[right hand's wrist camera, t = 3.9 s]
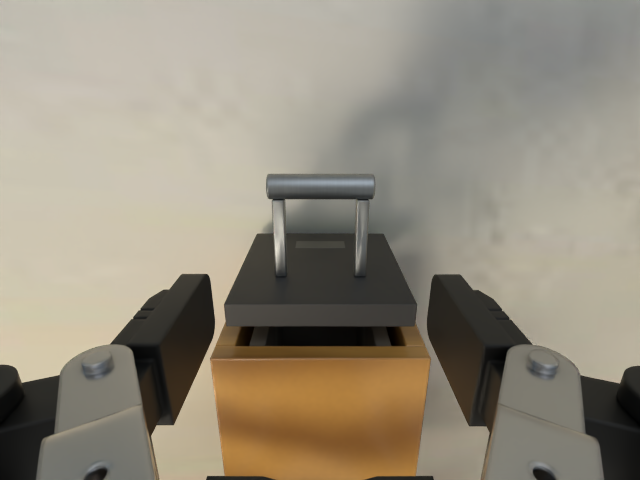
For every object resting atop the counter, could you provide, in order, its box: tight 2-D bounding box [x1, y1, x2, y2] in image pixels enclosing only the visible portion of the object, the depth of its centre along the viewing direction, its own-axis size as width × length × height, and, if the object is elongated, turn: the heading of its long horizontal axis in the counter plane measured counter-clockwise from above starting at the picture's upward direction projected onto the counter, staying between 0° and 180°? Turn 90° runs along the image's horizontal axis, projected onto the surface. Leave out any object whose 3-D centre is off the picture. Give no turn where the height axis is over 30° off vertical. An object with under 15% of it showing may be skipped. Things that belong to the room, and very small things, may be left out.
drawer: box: [224, 174, 417, 346], centre depth 23 cm, size 22×9×10 cm, turn 0°
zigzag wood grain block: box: [210, 322, 431, 480], centre depth 25 cm, size 18×10×11 cm, turn 0°
